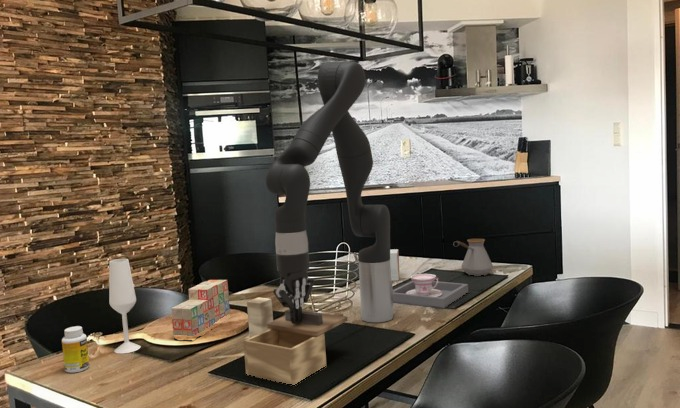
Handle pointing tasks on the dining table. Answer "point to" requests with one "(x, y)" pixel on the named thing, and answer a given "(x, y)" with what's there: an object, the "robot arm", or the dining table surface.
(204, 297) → the stack of blocks
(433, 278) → the teacup
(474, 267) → the coffee pot
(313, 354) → the open wooden box
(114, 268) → the champagne flute
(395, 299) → the coaster tray
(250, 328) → the key block
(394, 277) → the small box
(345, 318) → the lid
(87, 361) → the supplement bottle
